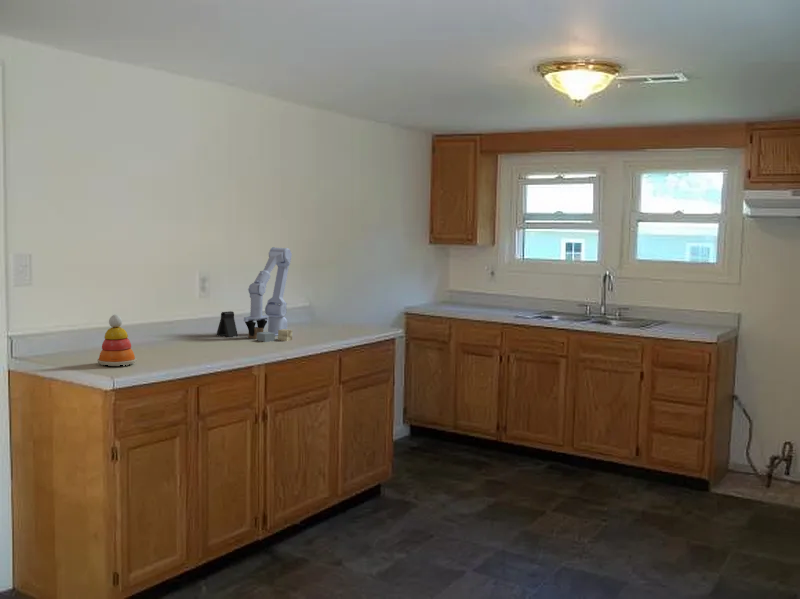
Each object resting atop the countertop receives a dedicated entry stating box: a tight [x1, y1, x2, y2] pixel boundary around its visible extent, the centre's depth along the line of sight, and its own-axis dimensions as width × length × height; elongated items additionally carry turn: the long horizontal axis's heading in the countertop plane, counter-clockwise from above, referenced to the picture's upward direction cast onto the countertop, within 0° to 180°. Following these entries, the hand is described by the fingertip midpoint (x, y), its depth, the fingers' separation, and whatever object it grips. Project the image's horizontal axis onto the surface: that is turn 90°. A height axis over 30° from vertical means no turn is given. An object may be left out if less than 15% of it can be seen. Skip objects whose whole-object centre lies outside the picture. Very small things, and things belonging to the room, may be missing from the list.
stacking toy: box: [97, 314, 137, 367], centre depth 309 cm, size 14×14×20 cm
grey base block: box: [256, 331, 276, 343], centre depth 385 cm, size 6×6×4 cm
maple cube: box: [277, 328, 293, 342], centre depth 390 cm, size 5×5×5 cm
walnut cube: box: [247, 326, 264, 340], centre depth 392 cm, size 5×5×5 cm
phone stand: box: [215, 310, 239, 338], centre depth 395 cm, size 9×6×12 cm, turn 55°
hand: (255, 335), depth 392 cm, fingers closed on walnut cube, 5 cm apart
